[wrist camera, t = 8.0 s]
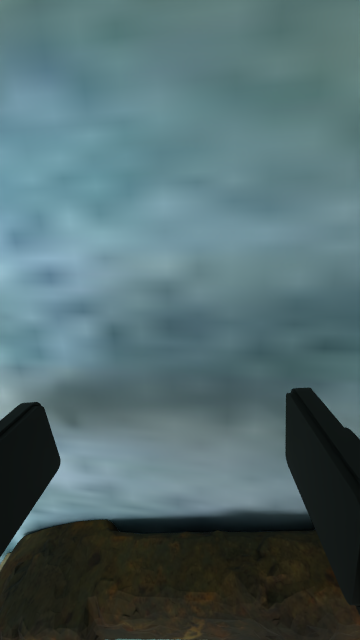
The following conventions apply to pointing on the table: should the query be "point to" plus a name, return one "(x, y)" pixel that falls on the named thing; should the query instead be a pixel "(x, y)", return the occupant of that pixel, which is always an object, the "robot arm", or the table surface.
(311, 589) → the dark brown log
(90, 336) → the table surface
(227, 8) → the table surface
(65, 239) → the table surface
